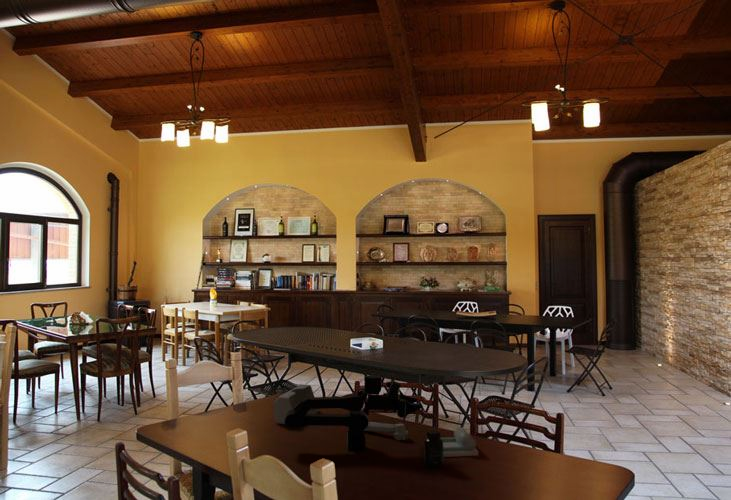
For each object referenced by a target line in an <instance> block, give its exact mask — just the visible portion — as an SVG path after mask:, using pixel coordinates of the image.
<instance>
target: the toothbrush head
mask: <svg viewBox="0 0 731 500" xmlns="http://www.w3.org/2000/svg"><path fill="white" fill-rule="evenodd" d="M364 432H378V433H379V432H383V433H392V435H393V436H394V440H396V441H401V440H403V441H406V440H408V434H409V432H408V430H406V426H405V424H404V423H396V424H395V423H394V424H393V423H384V422H375V421H369V424H368V426H367V428H366V429H365V430H364Z"/></svg>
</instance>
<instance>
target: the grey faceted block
mask: <svg viewBox="0 0 731 500" xmlns="http://www.w3.org/2000/svg"><path fill="white" fill-rule="evenodd" d="M306 397H315V393H314V391H313V388H312V386H311V385H310V384H299V385H296V387H293V388H292V389H290V390H289V391H286V392H284V393H283V394H281V395H280V396H278V397H277V398H276V400H275V401H274V402H273V416H274V418H275V420H276V421H277V423H278V424H279V425H284V426H286V425H285V417H286V414H287V412H288V411H289V410H292V409H294V408H295V407H296V406H297V405H299V404H300V403H301V402H302V401H303V400H304V399H305V398H306ZM307 413H309V414H318V413H319V409H310V410H309V411H308V412H307Z"/></svg>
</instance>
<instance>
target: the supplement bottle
mask: <svg viewBox="0 0 731 500" xmlns="http://www.w3.org/2000/svg"><path fill="white" fill-rule="evenodd" d="M441 438H442V437H441V431H440V430H439V429H433V428H431V429H427V430H426V438H425V439H424V441H423V463H424V465H425V466H426V468H429V469H440V468H442V467H443V466H444V457H443V441H442V439H441Z"/></svg>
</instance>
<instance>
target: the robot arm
mask: <svg viewBox="0 0 731 500" xmlns="http://www.w3.org/2000/svg"><path fill="white" fill-rule="evenodd" d="M382 378H383V377H382V375H379V374H369V375H365V376H364V377H363V380H364V386H363V388H362V389H360V390H359V391H358V392H353V393H347V394H344V395H341V396H317V397H316V396H314V397H306V398H305V399H304V400H303V401H302V402H301V403H300V404H299V405H297V406H296V407H295V408H294V409H292V410H289V411H288V412H287V414H286V417H285V425H284V426H285V427H286V428H287V429H289V430H296V429H302V428H304V427H305V428H306V427H308V426H312V427H313V426H321V427H322V426H324V427H330V426H331V427H346V428H347V429H348V430H346V433H347V434H346V436H347V437H346V438H347V439H346V448H347V451H351V452H352V451H365V450H366V449H365V447H366V435H365V431H364V430H365V429H366V428H367V426H368V424H369V422H370V421H369V418H368V416H370V415H369V414H370V413H369V412H370V411H383V413H386V412H387V411H392V412H393V413H396V415H397V416H398V418H406V417H407V416H409V415H411V414H412V413H414V412H417V411H419V410H421V409H423V405H421V404H419V403H418V401H419V399H418V398H416V397H413V396H409V395H405V394H404V393H403V392H402V391H401V390H400V388H401V384H400V382H398V381H395V380H389V381H387V382H386V387H387V391H386V392H383V393H382V394H380V392H382ZM310 409H318V410H319V409H320V410H322V409H325V410H326V409H342V410H345V411H348V413H315V414H309V413H307V412H308V411H309V410H310Z"/></svg>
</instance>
